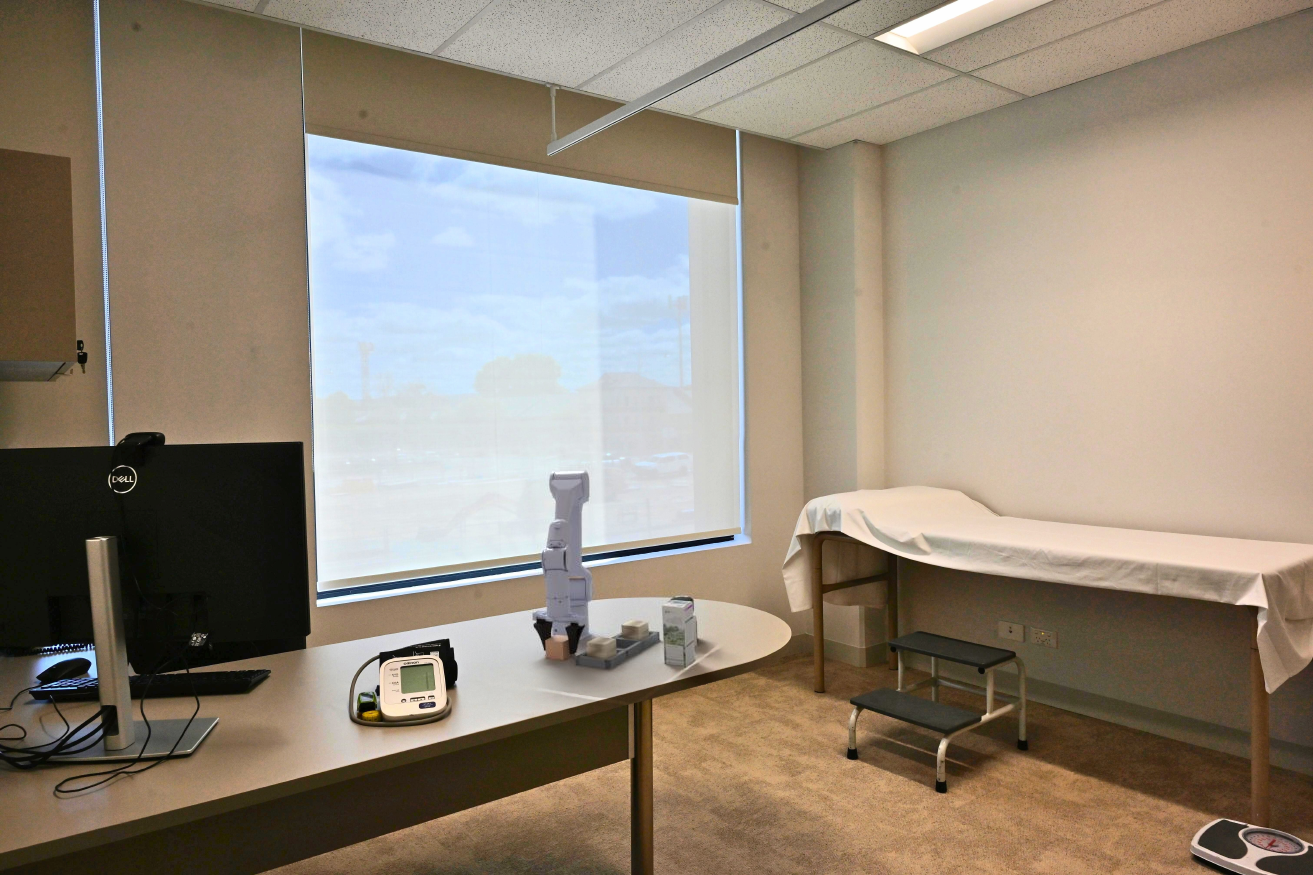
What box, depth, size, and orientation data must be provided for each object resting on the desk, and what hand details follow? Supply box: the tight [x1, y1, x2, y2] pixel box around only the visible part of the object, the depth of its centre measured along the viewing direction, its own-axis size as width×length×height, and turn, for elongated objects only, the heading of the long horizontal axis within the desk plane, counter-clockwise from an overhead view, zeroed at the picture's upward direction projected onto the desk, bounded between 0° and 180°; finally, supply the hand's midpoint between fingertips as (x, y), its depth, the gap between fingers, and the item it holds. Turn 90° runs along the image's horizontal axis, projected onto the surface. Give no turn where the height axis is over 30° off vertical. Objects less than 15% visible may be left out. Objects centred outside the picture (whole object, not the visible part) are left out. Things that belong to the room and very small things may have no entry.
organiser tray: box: [575, 630, 660, 671], centre depth 200 cm, size 9×25×3 cm, turn 152°
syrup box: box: [661, 599, 696, 669], centre depth 191 cm, size 6×6×14 cm
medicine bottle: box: [670, 595, 699, 647], centre depth 206 cm, size 7×7×12 cm
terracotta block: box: [545, 635, 575, 661], centre depth 199 cm, size 5×5×5 cm
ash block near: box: [586, 636, 617, 659], centre depth 193 cm, size 5×5×5 cm
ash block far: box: [621, 619, 650, 640], centre depth 207 cm, size 5×5×5 cm
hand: (560, 651), depth 199 cm, fingers open, 7 cm apart
